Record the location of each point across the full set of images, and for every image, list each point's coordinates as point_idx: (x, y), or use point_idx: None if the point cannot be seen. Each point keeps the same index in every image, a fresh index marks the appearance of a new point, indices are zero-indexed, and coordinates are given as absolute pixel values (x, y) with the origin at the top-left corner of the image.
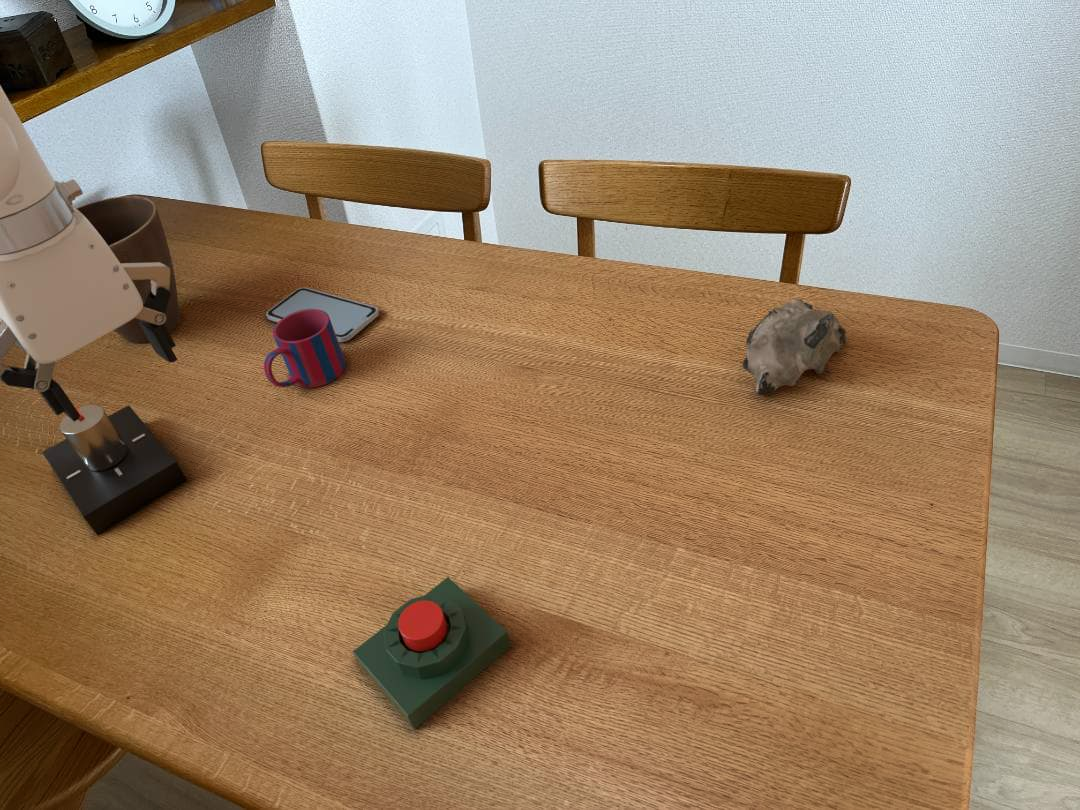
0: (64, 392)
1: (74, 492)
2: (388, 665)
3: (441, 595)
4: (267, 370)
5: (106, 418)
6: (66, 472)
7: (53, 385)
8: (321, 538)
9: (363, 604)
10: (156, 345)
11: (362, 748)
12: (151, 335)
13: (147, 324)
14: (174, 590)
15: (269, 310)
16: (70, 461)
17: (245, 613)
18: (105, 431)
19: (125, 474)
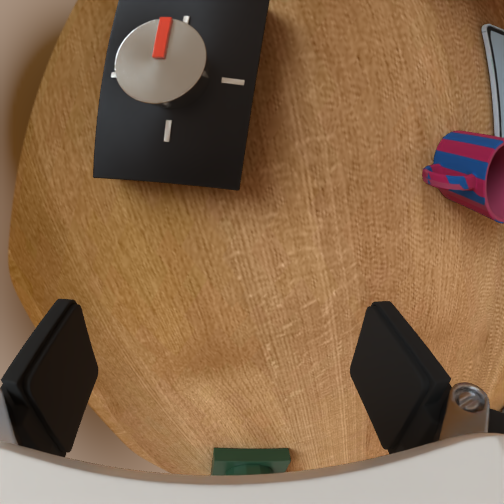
0: (75, 433)
1: (104, 115)
2: (223, 472)
3: (277, 465)
4: (438, 184)
5: (197, 84)
6: None
7: (53, 451)
8: (272, 374)
9: (246, 427)
10: (374, 375)
11: (185, 465)
12: (387, 407)
13: (409, 433)
14: (140, 320)
15: (490, 25)
16: None
17: (179, 383)
18: (180, 101)
19: (172, 144)
